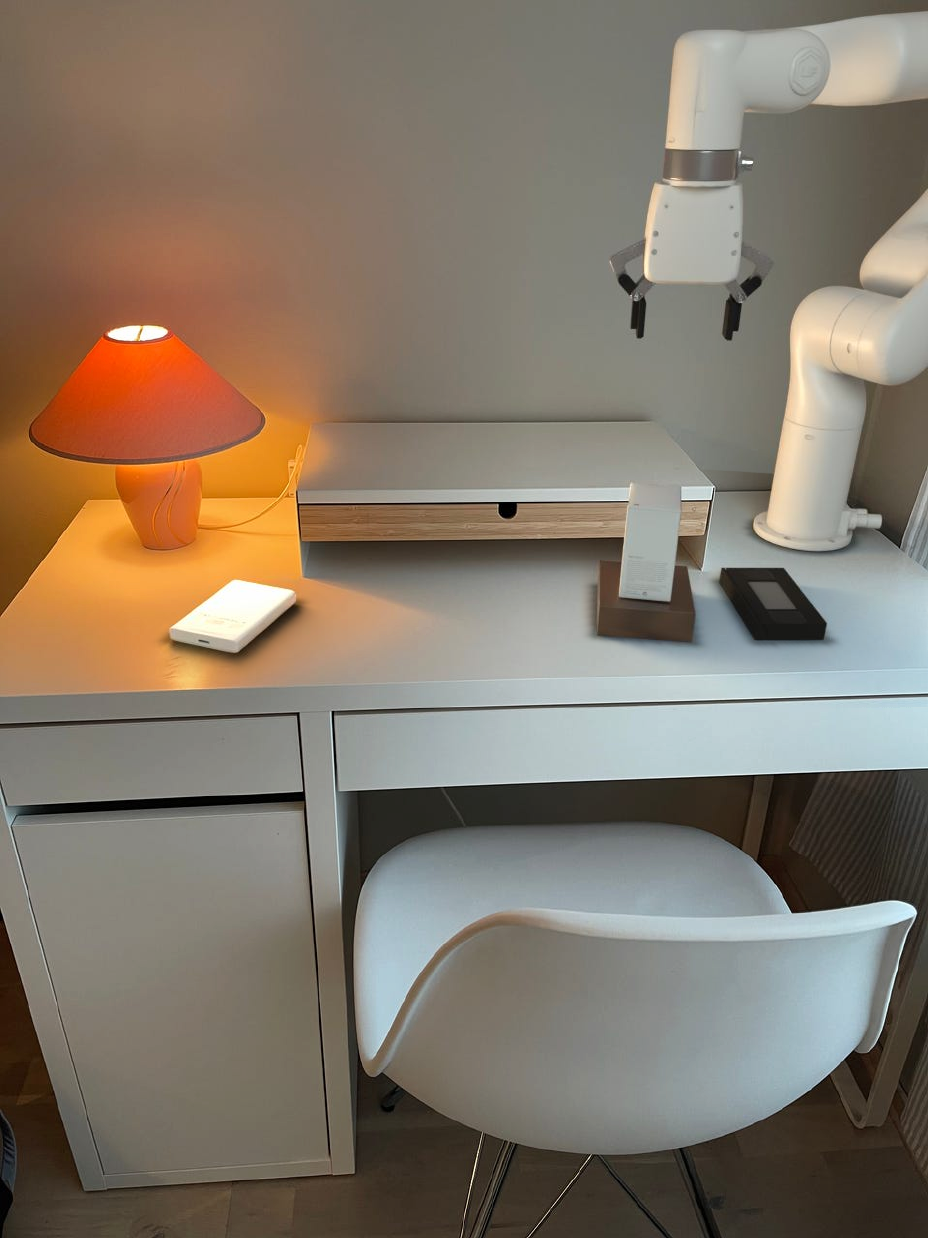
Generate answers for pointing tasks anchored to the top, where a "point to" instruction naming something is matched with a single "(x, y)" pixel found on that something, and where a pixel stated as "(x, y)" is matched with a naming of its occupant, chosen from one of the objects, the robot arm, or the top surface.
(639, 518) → the small box
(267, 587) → the hard drive
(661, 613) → the walnut block
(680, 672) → the top surface
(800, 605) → the vhs tape
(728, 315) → the robot arm
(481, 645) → the top surface
